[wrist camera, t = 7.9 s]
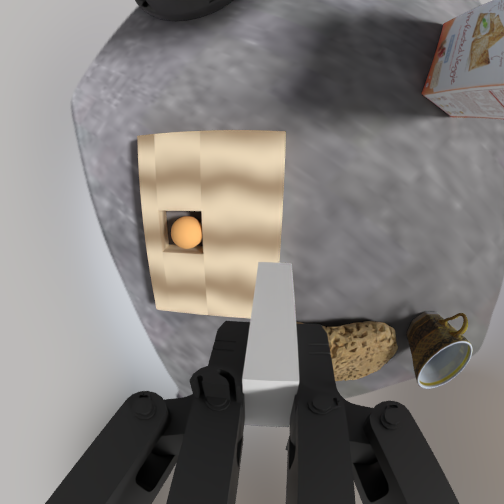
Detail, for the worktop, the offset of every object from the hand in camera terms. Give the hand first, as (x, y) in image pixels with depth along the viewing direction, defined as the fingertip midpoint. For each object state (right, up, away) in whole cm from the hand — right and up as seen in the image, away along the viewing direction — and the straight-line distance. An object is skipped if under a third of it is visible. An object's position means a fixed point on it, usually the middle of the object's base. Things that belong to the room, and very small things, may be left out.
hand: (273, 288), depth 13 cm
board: (-6, +5, +22) cm, 23 cm away
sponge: (+11, -12, +28) cm, 33 cm away
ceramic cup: (+28, -10, +26) cm, 39 cm away
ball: (-9, +4, +20) cm, 23 cm away
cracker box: (+25, +26, +10) cm, 38 cm away
